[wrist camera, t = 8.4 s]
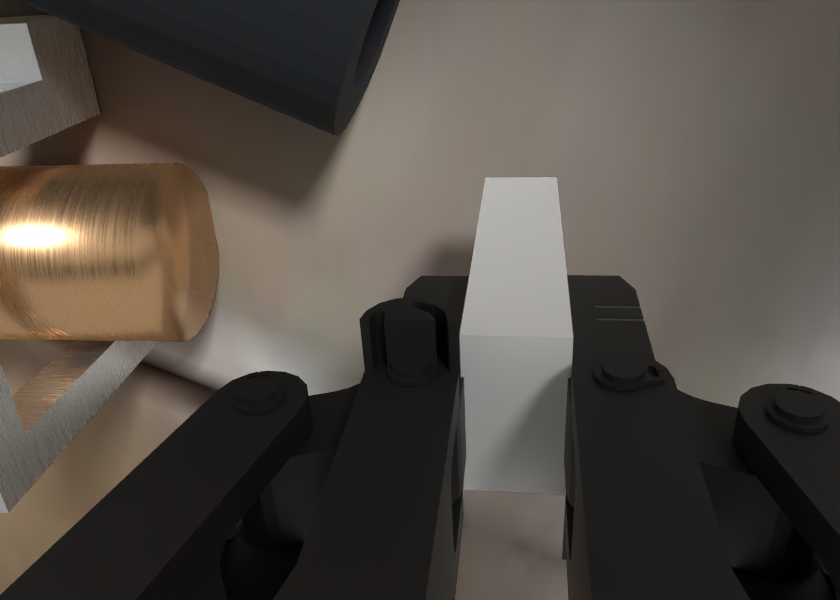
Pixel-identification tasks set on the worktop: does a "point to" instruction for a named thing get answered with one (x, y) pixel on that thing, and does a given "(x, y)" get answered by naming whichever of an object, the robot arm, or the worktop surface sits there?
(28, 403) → the grey slatted rack
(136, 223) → the tube
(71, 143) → the worktop surface
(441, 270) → the worktop surface
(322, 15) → the pipe connector
